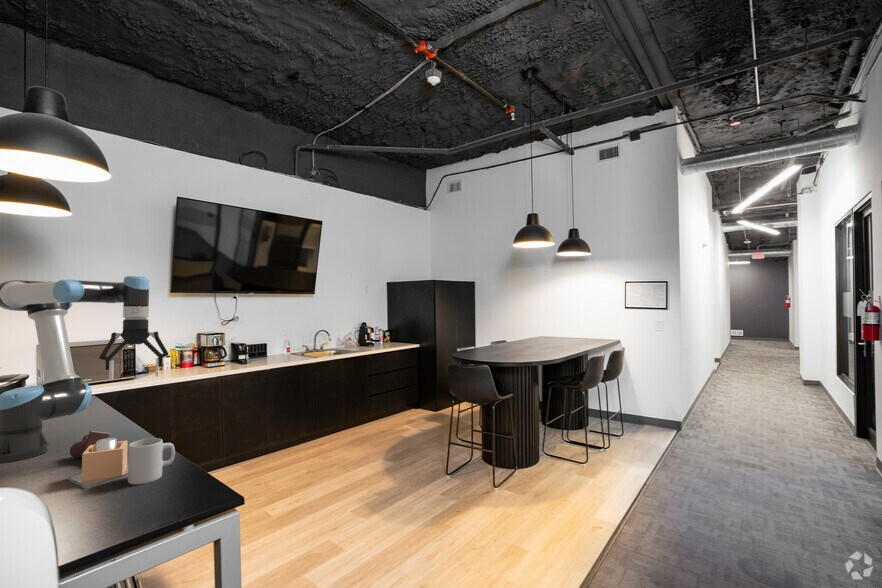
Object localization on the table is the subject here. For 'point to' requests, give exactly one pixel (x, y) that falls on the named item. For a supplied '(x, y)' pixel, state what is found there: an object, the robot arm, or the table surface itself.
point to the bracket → (87, 443)
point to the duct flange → (77, 479)
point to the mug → (147, 460)
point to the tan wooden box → (104, 462)
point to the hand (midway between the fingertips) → (134, 377)
